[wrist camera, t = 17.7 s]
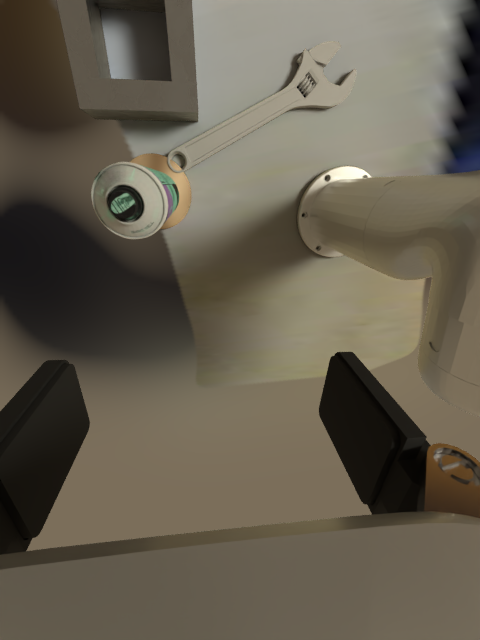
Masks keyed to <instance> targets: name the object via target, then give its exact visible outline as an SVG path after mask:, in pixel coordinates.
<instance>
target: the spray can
mask: <svg viewBox="0 0 480 640" xmlns="http://www.w3.org/2000/svg"><path fill="white" fill-rule="evenodd" d="M91 200H92V204H93V208H94V211H95V213H96V215H97V217H98V218H99V220H100V221H101V223H102V224H103V225H104V226H105V227H106V228H108V229H109V230H110V231H111V232H113V233H114V234H116V235H118V236H121V237H123V238H128V239H141V238H146V237H149V236H151V235H153V234H154V233H155V232H157V231H158V230H159V229H160V228H161V227H162V225H163V224H164V223H165V222H166V221H167V219H168V218H169V217H170V216H171V214H172V213H173V212H174V211H175V210H176V208H177V206H178V203H179V191H178V187H177V185H176V183H175V182H174V181H173V179H172V178H171V177H170V176H168V175H167V174H165V173H163V172H160V171H157V170H154V169H151V168H148V167H145V166H142V165H139V164H135V163H131V162H119V163H114V164H111V165H109V166H107V167H105V168H104V169H103V170H101V171H100V172H99V174H98V175H97V176H96V178H95V180H94V182H93V185H92V190H91Z"/></svg>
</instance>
